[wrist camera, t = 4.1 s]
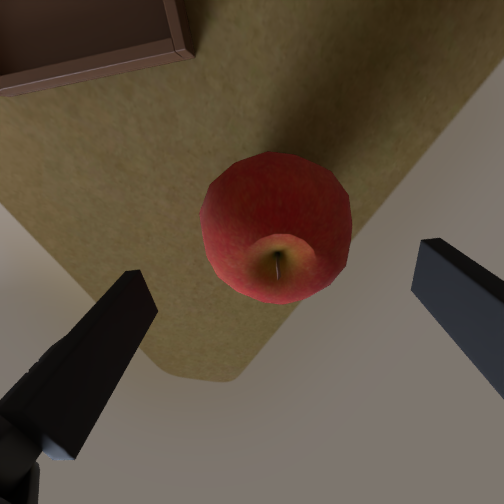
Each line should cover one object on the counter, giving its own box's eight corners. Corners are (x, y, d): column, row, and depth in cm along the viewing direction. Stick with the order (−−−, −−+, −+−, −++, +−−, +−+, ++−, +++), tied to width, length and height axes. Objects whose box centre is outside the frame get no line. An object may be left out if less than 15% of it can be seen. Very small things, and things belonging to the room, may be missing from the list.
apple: (199, 191, 24) (128, 269, 12) (279, 112, 20) (297, 103, 8) (268, 260, 27) (268, 376, 15) (347, 203, 23) (432, 295, 11)
